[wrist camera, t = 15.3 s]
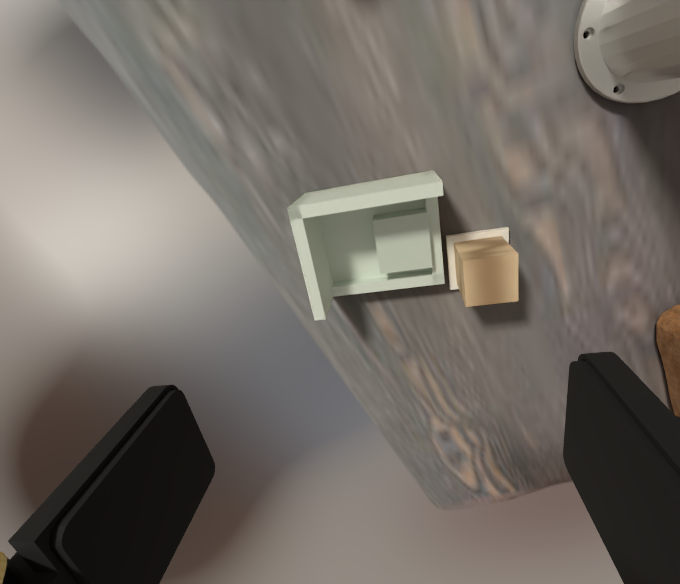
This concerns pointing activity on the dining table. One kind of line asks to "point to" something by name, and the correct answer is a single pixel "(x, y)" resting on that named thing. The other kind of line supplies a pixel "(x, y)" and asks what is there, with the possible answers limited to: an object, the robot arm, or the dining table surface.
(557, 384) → the dining table surface
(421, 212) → the pale grey angled piece
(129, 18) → the dining table surface
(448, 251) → the cream tile
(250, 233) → the dining table surface
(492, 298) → the oak block
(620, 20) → the robot arm
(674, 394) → the bread
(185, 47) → the dining table surface
